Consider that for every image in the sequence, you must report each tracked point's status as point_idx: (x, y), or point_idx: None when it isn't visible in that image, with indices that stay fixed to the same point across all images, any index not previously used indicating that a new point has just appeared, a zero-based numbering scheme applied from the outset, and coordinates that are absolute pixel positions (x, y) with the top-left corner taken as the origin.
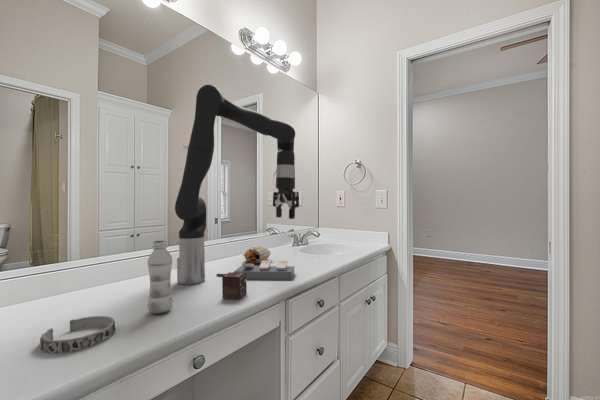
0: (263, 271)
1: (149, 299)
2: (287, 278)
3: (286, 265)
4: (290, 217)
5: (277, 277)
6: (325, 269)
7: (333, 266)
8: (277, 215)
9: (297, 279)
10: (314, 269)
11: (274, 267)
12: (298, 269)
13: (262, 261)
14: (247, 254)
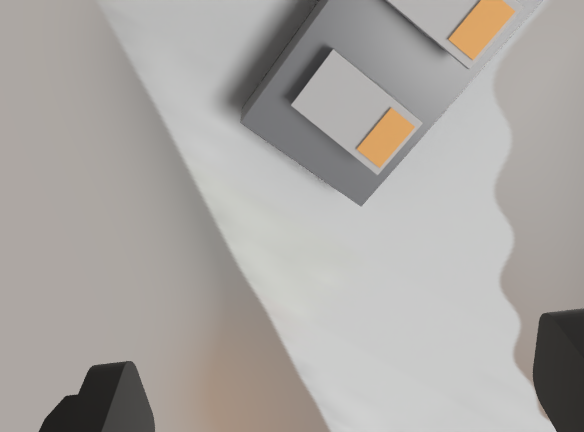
0: None
1: None
2: (259, 87)
3: (336, 139)
4: (91, 385)
5: (298, 32)
6: (329, 362)
7: (354, 418)
8: (561, 337)
9: (237, 142)
10: (367, 321)
11: (426, 79)
12: (429, 255)
13: (506, 1)
14: None
